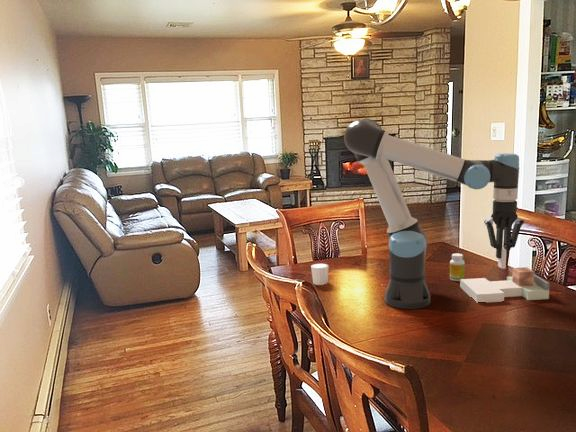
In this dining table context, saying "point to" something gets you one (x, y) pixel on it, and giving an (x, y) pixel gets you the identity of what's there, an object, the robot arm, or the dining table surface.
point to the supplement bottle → (457, 267)
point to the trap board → (504, 289)
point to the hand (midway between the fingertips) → (501, 267)
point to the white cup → (320, 273)
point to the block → (523, 276)
